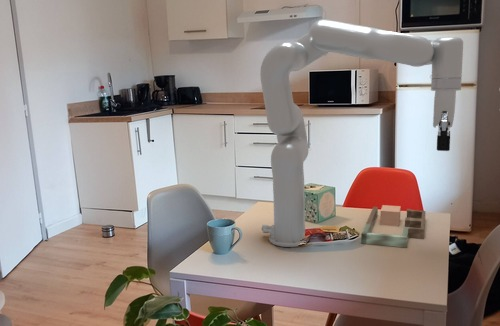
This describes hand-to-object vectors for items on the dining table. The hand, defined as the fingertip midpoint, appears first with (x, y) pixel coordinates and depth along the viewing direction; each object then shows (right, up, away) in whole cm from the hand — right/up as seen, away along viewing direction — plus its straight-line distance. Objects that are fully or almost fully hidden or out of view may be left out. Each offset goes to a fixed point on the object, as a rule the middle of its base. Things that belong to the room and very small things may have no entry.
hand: (443, 147), depth 134 cm
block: (-6, -25, +31) cm, 40 cm away
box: (-6, -26, +23) cm, 35 cm away
